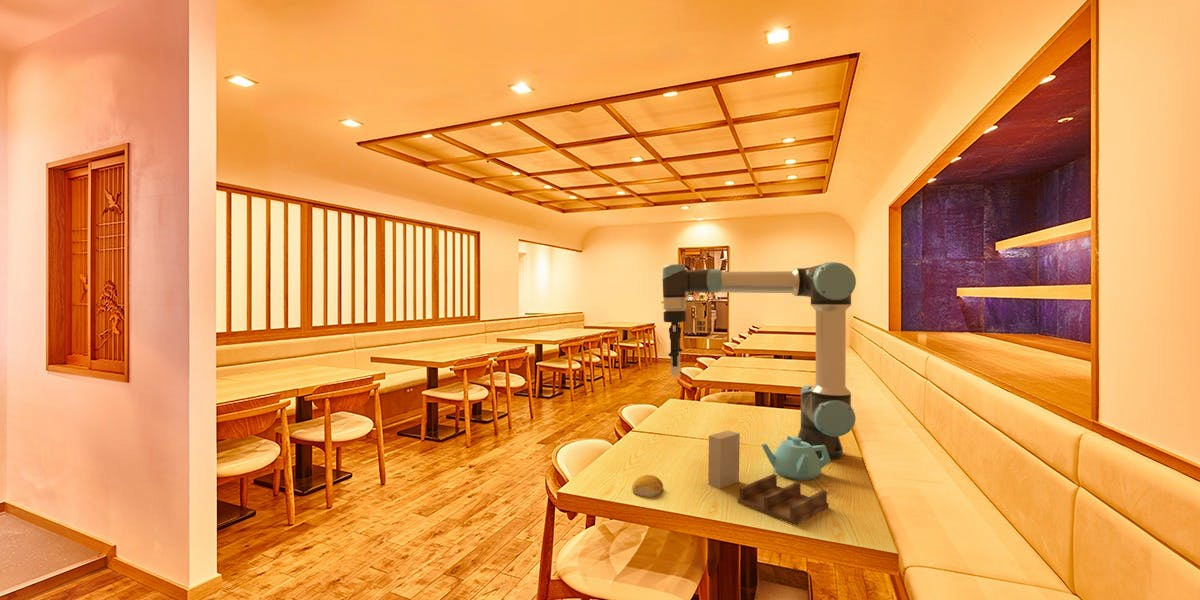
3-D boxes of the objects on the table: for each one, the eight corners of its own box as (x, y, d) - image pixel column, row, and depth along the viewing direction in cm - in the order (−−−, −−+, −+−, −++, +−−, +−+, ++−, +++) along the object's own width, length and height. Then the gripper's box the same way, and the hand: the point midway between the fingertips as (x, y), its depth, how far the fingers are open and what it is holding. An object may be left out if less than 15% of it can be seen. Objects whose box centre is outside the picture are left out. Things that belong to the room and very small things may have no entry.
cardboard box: (727, 477, 143) (728, 430, 142) (739, 481, 139) (739, 433, 139) (708, 484, 137) (708, 435, 137) (719, 489, 134) (720, 439, 134)
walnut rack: (771, 487, 135) (771, 473, 135) (828, 507, 123) (828, 491, 123) (737, 502, 125) (738, 487, 125) (796, 525, 113) (796, 508, 112)
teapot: (805, 487, 136) (805, 449, 136) (759, 471, 148) (760, 436, 148) (833, 475, 145) (833, 440, 145) (787, 461, 157) (788, 428, 157)
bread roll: (664, 486, 136) (664, 472, 136) (659, 499, 127) (659, 484, 127) (635, 483, 138) (636, 469, 138) (628, 495, 130) (629, 480, 130)
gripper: (665, 310, 175) (666, 368, 175) (661, 311, 150) (662, 378, 150) (686, 309, 173) (687, 368, 173) (685, 310, 149) (686, 379, 149)
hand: (676, 373), depth 162 cm, fingers open, 13 cm apart
